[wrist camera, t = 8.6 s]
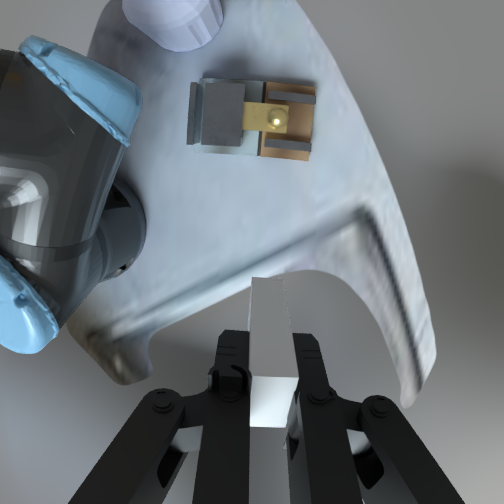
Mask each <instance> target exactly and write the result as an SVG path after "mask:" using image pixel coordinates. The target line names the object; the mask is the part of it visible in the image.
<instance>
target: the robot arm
mask: <svg viewBox="0 0 504 504" xmlns="http://www.w3.org/2000/svg"><path fill="white" fill-rule="evenodd" d="M19 50H20V52H15V51H9V50H4V49H0V344H1V345H3V346H4V347H6V348H8V349H10V350H12V351H15V352H18V353H21V354H23V353H24V354H25V353H27V354H33V353H37V352H39V351H40V350H41V349H43V348H44V347H45V346H46V345H47V343H48V342H49V341H50V340H51V339H53V338H55V337H56V336H57V335H58V332H59V330H60V328H61V327H62V326H63V325H64V323H65V322H66V321H67V320H68V318H69V317H70V316H71V315H72V313H73V312H74V311H75V310H76V309H77V307H78V306H79V305H80V304H81V302H82V301H83V300H84V299H85V298H86V297H87V295H88V294H89V293H90V292H91V291H92V289H93V288H94V287H95V286H96V285H97V283H100V282H103V281H106V280H109V279H112V278H114V277H117V276H119V275H121V274H122V273H123V272H125V271H126V270H127V269H128V268H129V267H130V266H131V265H132V264H133V263H134V261H135V260H136V259H137V258H138V256H139V254H140V253H141V251H142V248H143V245H144V242H145V236H146V222H145V216H144V212H143V209H142V206H141V204H140V202H139V200H138V198H137V196H136V195H135V193H134V192H133V190H132V189H131V188H130V187H129V186H128V185H127V184H126V183H125V182H124V181H123V180H121V179H120V178H118V177H117V176H115V175H116V172H117V170H118V167H119V165H120V162H121V160H122V157H123V155H124V152H125V150H126V147H129V145H130V136H131V133H132V131H133V128H134V125H135V123H136V120H137V118H138V115H139V113H140V110H141V107H142V94H141V91H140V90H139V88H138V87H137V85H136V84H134V83H133V82H132V81H130V80H129V79H127V78H125V77H124V76H122V75H120V74H118V73H117V72H115V71H113V70H111V69H109V68H107V67H105V66H103V65H101V64H100V63H98V62H96V61H94V60H92V59H89V58H87V57H85V56H83V55H81V54H79V53H77V52H74V51H72V50H70V49H68V48H65V47H62V46H59V45H57V44H55V43H52V42H50V41H47V40H45V39H43V38H40V37H38V36H34V35H31V36H29V37H27V38H26V39H25V40H24V42H22V43H21V44H20V46H19ZM287 420H288V433H287V436H286V440H285V443H284V447H283V450H286V448H287V457H288V458H287V459H288V473H289V489H290V503H291V504H363V501H362V499H363V500H364V502H365V504H465V503H464V501H463V500H462V498H461V497H460V496H459V494H458V493H457V491H456V490H455V488H454V487H453V485H452V484H451V482H450V481H449V479H448V478H447V476H446V475H445V474H444V472H443V471H442V469H441V468H440V466H439V465H438V463H437V462H436V461H435V459H434V458H433V456H432V455H431V453H430V452H429V451H428V449H427V448H426V446H425V445H424V443H423V442H422V441H421V439H420V438H419V436H418V435H417V434H416V432H415V431H414V429H413V428H412V427H411V425H410V424H409V422H408V421H407V420H406V418H405V417H404V415H403V414H402V413H401V411H400V410H399V408H398V407H397V406H396V404H394V402H393V401H392V400H390V399H389V398H387V397H385V396H380V395H375V396H370V397H368V398H366V399H365V400H364V401H363V402H362V403H359V402H354V401H349V400H346V399H343V398H341V397H339V396H338V395H337V393H336V391H335V390H334V389H333V388H331V387H330V386H329V383H328V378H327V374H326V370H325V367H324V363H323V359H322V355H321V352H320V347H319V343H318V341H317V340H316V339H315V338H314V336H313V335H312V334H303V333H302V334H301V333H292V330H291V324H290V317H289V311H288V305H287V299H286V293H285V287H284V281H283V279H272V278H259V277H252V282H251V294H250V305H249V317H248V331H235V330H224V331H223V333H222V334H221V335H220V336H219V338H218V345H217V351H216V357H215V364H214V366H213V367H212V368H211V369H210V371H209V373H208V388H207V389H206V390H205V391H204V392H202V393H199V394H197V395H193V396H185V397H181V396H180V395H179V393H177V392H175V391H173V390H170V389H164V388H162V389H155V390H153V391H150V392H149V393H148V394H147V395H145V396H144V397H143V399H142V400H141V402H140V403H139V404H138V406H137V407H136V409H135V410H134V411H133V413H132V414H131V416H130V417H129V418H128V420H127V421H126V423H125V424H124V426H123V427H122V428H121V430H120V431H119V432H118V434H117V435H116V437H115V438H114V440H113V441H112V442H111V444H110V445H109V447H108V448H107V449H106V451H105V452H104V453H103V455H102V456H101V458H100V459H99V460H98V462H97V463H96V465H95V466H94V467H93V469H92V470H91V472H90V473H89V475H88V476H87V477H86V479H85V480H84V482H83V483H82V484H81V486H80V487H79V489H78V490H77V491H76V493H75V494H74V496H73V497H72V498H71V500H70V501H69V503H68V504H162V503H163V501H164V499H165V497H166V495H167V493H168V491H169V489H170V487H171V486H172V484H173V482H174V479H175V478H176V476H177V474H178V472H179V470H180V468H181V466H182V464H183V462H184V460H185V458H186V456H187V454H188V452H190V451H197V450H199V458H198V465H197V472H196V479H195V486H194V494H193V501H192V504H249V450H250V426H256V427H286V423H287Z"/></svg>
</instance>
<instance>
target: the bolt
mask: <svg viewBox="0 0 504 504" xmlns="http://www.w3.org/2000/svg"><path fill="white" fill-rule="evenodd" d="M288 109H289V106H287V105H277V104H267V103H255V102H244V108H243V121H242V130H255V131H267V132H277V133H286V131H287V123H288V120H289V115H288Z"/></svg>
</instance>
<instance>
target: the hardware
mask: <svg viewBox="0 0 504 504" xmlns="http://www.w3.org/2000/svg"><path fill="white" fill-rule="evenodd" d="M246 91H247V89H246V85H245V84H237V83H209V82H205V93H204V105H203V92H204V88H203V87H202V86H201V85H199V84H198V83H197V82H191V85H190V98H189V111H188V126H187V144H189V145H193V144H196V143H200V134H201V119H202V105H203V119H202V134H201V145H215V146H233V147H241V145H242V140H243V136H241V133H242V121H243V108H244V98H246ZM268 100H277V101H287V102H295V103H303V104H310V105H315V104H316V96H313V95H306V94H298V93H290V92H281V91H271V90H269V93H268ZM311 145H312V143H307V142H298V141H289V140H280V139H270V138H265V139H264V147H270V148H281V149H290V150H299V151H308V152H311Z"/></svg>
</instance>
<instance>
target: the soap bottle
mask: <svg viewBox="0 0 504 504" xmlns="http://www.w3.org/2000/svg"><path fill="white" fill-rule="evenodd" d="M122 8H123V12H124V14H125V16H126V18H127V20H128V21H129V22H130V23H131V24H133V25H134V26H135V27H137V28H138V29H139V30H141V31H142V32H143V33H144V34H146V35H147V36H148V37H150V38H151V39H152V40H153V41H155V42H156V43H157V44H159V45H160V46H161V47H163V48H164V49H167V50H171V51H174V52H186V51H191V50H194V49H197V48H200V47H202V46H204V45H205V44H206V43H208V42H209V41H211V40H212V39H213V38H214V36H215V35H216V34H217V33H218V31H219V30H220V27H221V24H222V21H223V14H222V7H221V4H220V1H219V0H122Z"/></svg>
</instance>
